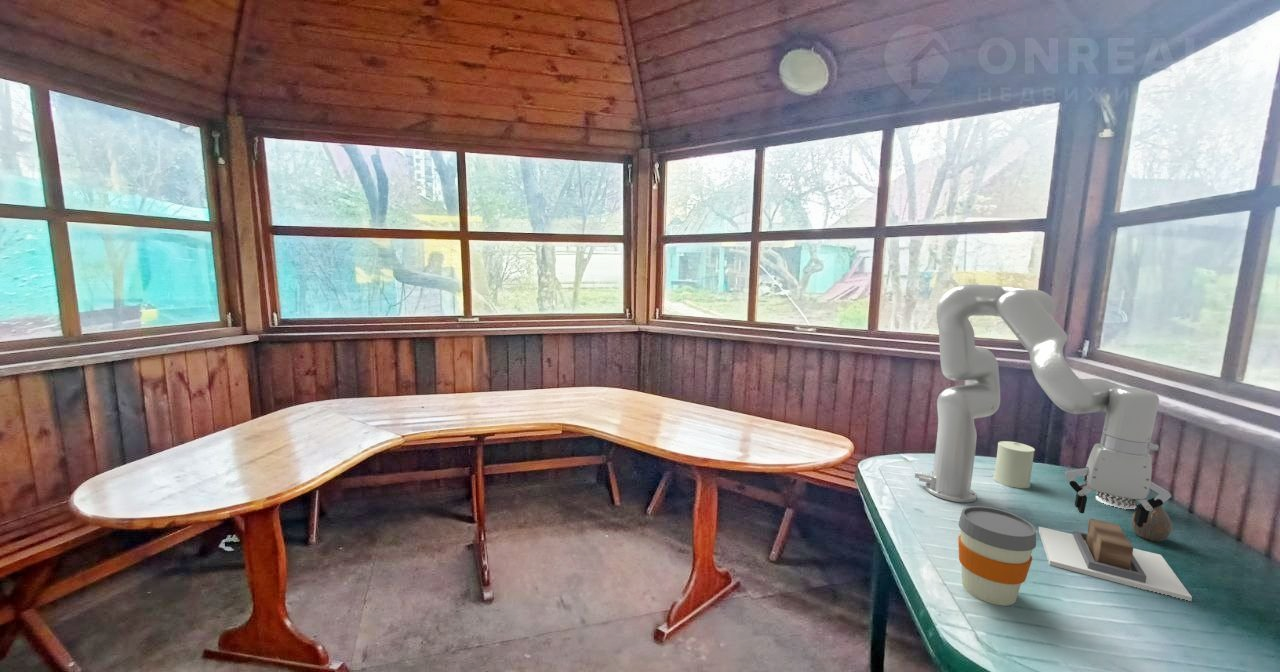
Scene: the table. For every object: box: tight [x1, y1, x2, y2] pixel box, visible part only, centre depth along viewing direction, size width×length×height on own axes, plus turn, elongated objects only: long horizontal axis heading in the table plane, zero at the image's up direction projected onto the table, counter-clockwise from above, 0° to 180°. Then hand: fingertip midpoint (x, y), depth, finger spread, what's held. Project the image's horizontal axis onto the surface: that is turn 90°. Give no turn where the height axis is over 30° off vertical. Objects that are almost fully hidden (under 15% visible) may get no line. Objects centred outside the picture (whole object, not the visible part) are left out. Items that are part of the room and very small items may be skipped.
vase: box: [1131, 505, 1173, 543], centre depth 124 cm, size 7×7×9 cm
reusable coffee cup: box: [957, 505, 1037, 607], centre depth 100 cm, size 13×13×15 cm
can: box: [992, 440, 1036, 489], centre depth 155 cm, size 9×9×12 cm
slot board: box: [1038, 526, 1193, 602], centre depth 113 cm, size 22×18×2 cm
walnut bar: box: [1086, 518, 1134, 570], centre depth 112 cm, size 12×5×6 cm, turn 148°
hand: (1108, 517), depth 112 cm, fingers open, 9 cm apart
